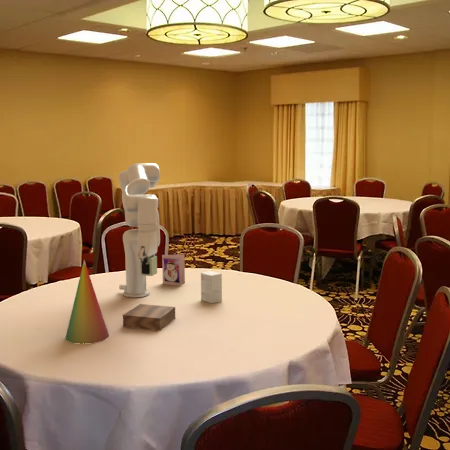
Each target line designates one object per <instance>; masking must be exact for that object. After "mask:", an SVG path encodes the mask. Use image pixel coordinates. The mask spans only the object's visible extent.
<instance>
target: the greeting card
mask: <svg viewBox="0 0 450 450" xmlns="http://www.w3.org/2000/svg"><path fill="white" fill-rule="evenodd" d="M161 257H162V258H161V259H162V261H161V263H162V264H161V266H162V267H161V268H162V284H164V285H169V286H179V287H182V285H183V284H185V283H186V271H185V270H186V269H185V268H186V267H185V266H186V264H185V260H186V259H185V254H184V253H183V254H162V255H161Z"/></svg>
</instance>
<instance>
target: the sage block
mask: <svg viewBox="0 0 450 450" xmlns="http://www.w3.org/2000/svg"><path fill="white" fill-rule="evenodd" d="M144 259H147V258H144ZM149 264H150V274H142V264H141V260H140V271H141V275H145V276H146V277H147V276H148V277H153V276H155V275H156V274H158V256H157V255H156V256H150V257H149Z"/></svg>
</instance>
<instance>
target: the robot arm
mask: <svg viewBox="0 0 450 450" xmlns="http://www.w3.org/2000/svg"><path fill="white" fill-rule="evenodd" d="M160 179H161V169H160V168H159V165H158V164H157V163H153V162H149V163H148V162H145V163H144V162H143V163H139V162H138V163H133V164H131V165H129V166H128V167H127V169H126V170H122V171H120V172H119V173H118V184H119V187H120V190H121V192H122V193H121V201H122V208H123V209H124V218H125V219H124V220H125V223H126V225H127V226H129V227H137V228H134V229H128V230H126V231H124V233H123V234H122V242H123V248H124V255H125V258H124V259H125V284H119V290H122V291H123V292H122V295H123V296H124V297H127V298H143V297H147V296H149V295H150V293H151V292H150V290H149V289H147V276H145V275H141V271H140V260H141V264H142V274H150V264H149V257H150V256H157V253H158V247H160V244H161V232H160V230H161V229H160V228H161V227H160V213H159V210H158V208H159V198H158V197H157V196H156V195H155V194H151V193H147V192H148V191H149V190H150V189H151V188H155V187H157V185H158V183H159V181H160ZM146 193H147V194H146ZM144 258H147V259H144Z"/></svg>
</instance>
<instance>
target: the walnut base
mask: <svg viewBox="0 0 450 450" xmlns="http://www.w3.org/2000/svg"><path fill="white" fill-rule="evenodd" d="M175 319H176V306H169V305H168V306H167V305H157V304H144V303H139V304H138V305H136V306H135V307H133V308H131V309H130V310H128V311H127V312H125V313H124V314H122V326H123V328H129V329H140V330H151V331H157V332H158V331H160V332H161V331H162V330H163V329H164V328H166V327H167V326H168V325H169V324H171V323H172V322H174V320H175Z"/></svg>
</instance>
